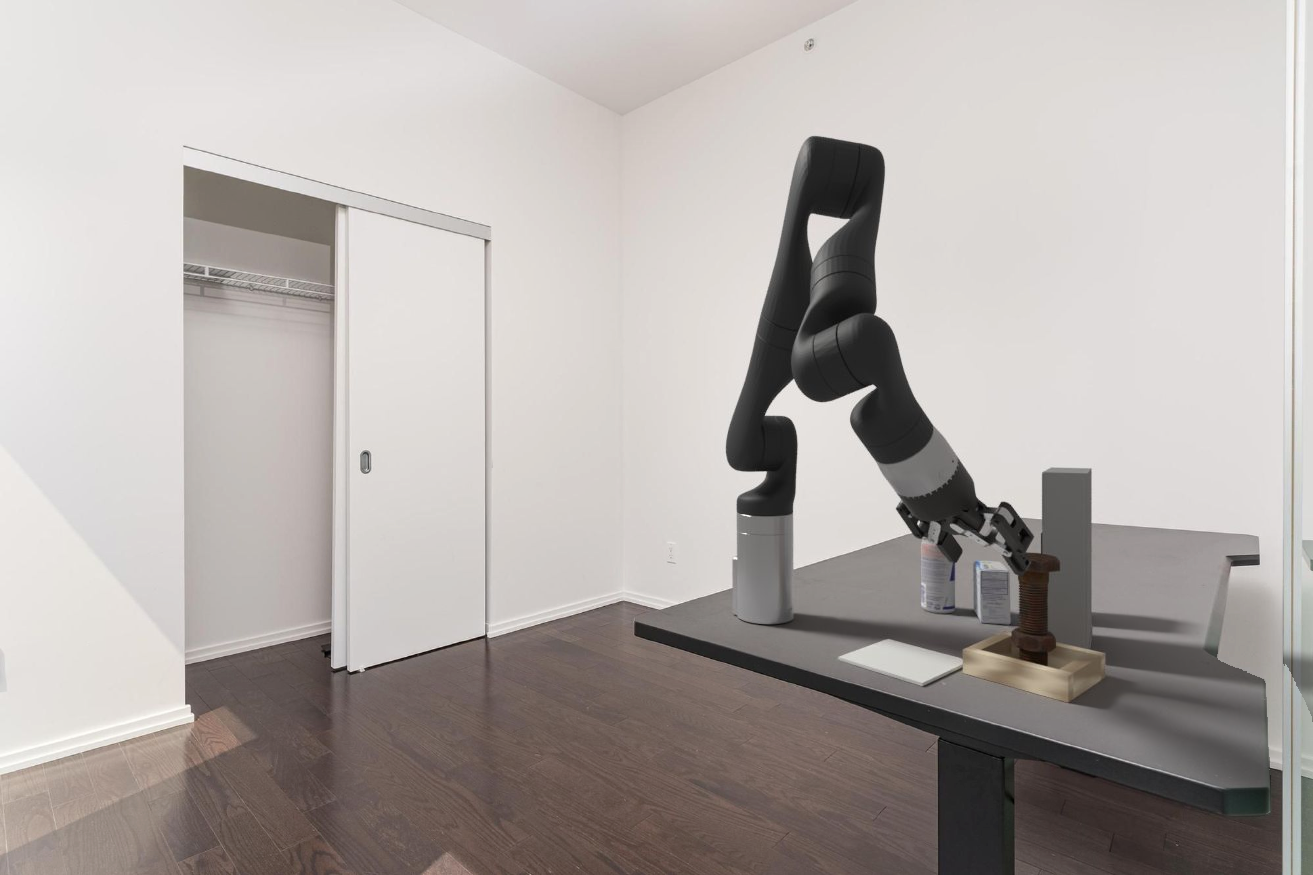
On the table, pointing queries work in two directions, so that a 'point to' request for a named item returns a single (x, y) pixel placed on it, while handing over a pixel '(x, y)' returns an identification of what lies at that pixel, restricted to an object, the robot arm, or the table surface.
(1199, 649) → the table surface
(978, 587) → the medicine box
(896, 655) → the pad
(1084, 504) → the cassette tape recorder
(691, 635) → the table surface
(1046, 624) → the bolt
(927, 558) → the energy drink
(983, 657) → the wooden frame
